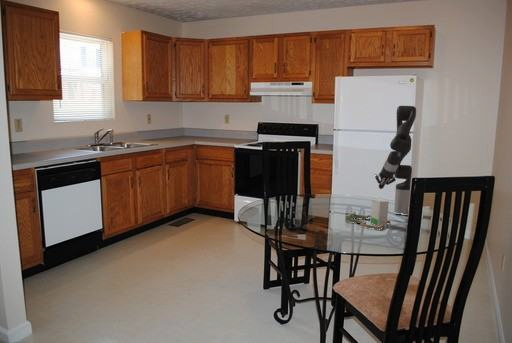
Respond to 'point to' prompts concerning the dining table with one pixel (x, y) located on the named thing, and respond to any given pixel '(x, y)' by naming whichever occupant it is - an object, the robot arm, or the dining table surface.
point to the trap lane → (362, 223)
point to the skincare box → (379, 211)
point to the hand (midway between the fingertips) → (380, 187)
